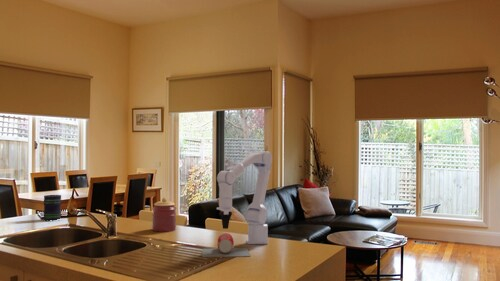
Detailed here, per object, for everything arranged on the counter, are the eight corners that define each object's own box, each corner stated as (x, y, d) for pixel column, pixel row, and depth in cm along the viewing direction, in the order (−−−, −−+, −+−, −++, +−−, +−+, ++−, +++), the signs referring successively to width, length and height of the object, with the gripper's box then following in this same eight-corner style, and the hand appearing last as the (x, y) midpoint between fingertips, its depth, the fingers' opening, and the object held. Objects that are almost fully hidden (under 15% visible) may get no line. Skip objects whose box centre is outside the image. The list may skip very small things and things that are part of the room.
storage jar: (39, 220, 256) (40, 196, 256) (49, 218, 265) (50, 194, 266) (54, 221, 254) (55, 196, 254) (64, 218, 264) (64, 195, 264)
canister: (179, 230, 230) (180, 198, 230) (157, 233, 222) (157, 199, 223) (170, 226, 240) (170, 195, 241) (148, 229, 233) (148, 197, 234)
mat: (247, 248, 189) (247, 248, 189) (250, 256, 175) (250, 255, 175) (202, 249, 187) (202, 248, 187) (202, 257, 173) (202, 256, 173)
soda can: (226, 250, 189) (226, 257, 177) (214, 240, 189) (213, 246, 177) (236, 239, 190) (237, 245, 178) (224, 228, 189) (224, 234, 178)
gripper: (216, 196, 194) (216, 225, 194) (216, 199, 180) (216, 231, 179) (231, 196, 195) (231, 225, 194) (233, 199, 180) (233, 231, 180)
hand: (225, 228), depth 187 cm, fingers closed
